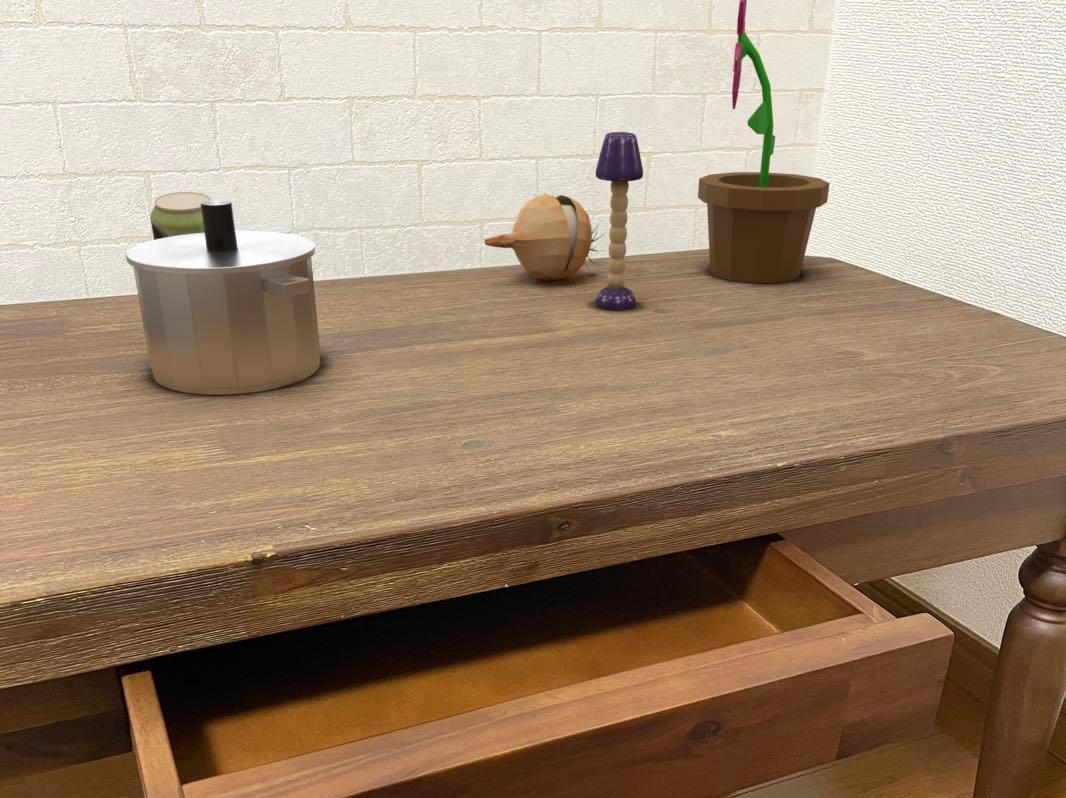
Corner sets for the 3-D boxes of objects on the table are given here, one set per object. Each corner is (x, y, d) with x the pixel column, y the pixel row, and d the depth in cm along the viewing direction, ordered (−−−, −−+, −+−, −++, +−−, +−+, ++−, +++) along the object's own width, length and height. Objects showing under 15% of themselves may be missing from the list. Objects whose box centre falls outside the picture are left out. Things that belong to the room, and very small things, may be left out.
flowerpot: (696, 257, 128) (716, -18, 115) (815, 263, 126) (850, -18, 112) (688, 283, 116) (709, -22, 102) (820, 290, 113) (860, -22, 100)
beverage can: (227, 311, 104) (210, 186, 99) (241, 330, 98) (225, 198, 93) (161, 318, 102) (141, 190, 96) (173, 337, 96) (151, 202, 90)
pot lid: (195, 292, 75) (186, 227, 73) (92, 263, 83) (81, 203, 81) (353, 260, 84) (348, 201, 82) (246, 237, 93) (240, 183, 91)
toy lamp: (642, 310, 105) (651, 135, 98) (598, 313, 105) (603, 136, 97) (629, 299, 110) (636, 130, 102) (586, 301, 109) (590, 130, 101)
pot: (235, 415, 78) (218, 288, 73) (105, 364, 89) (83, 250, 84) (373, 373, 87) (365, 257, 83) (240, 331, 98) (227, 227, 94)
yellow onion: (631, 204, 114) (512, 177, 107) (617, 290, 116) (499, 270, 108) (586, 206, 122) (472, 181, 114) (574, 286, 124) (461, 267, 116)
